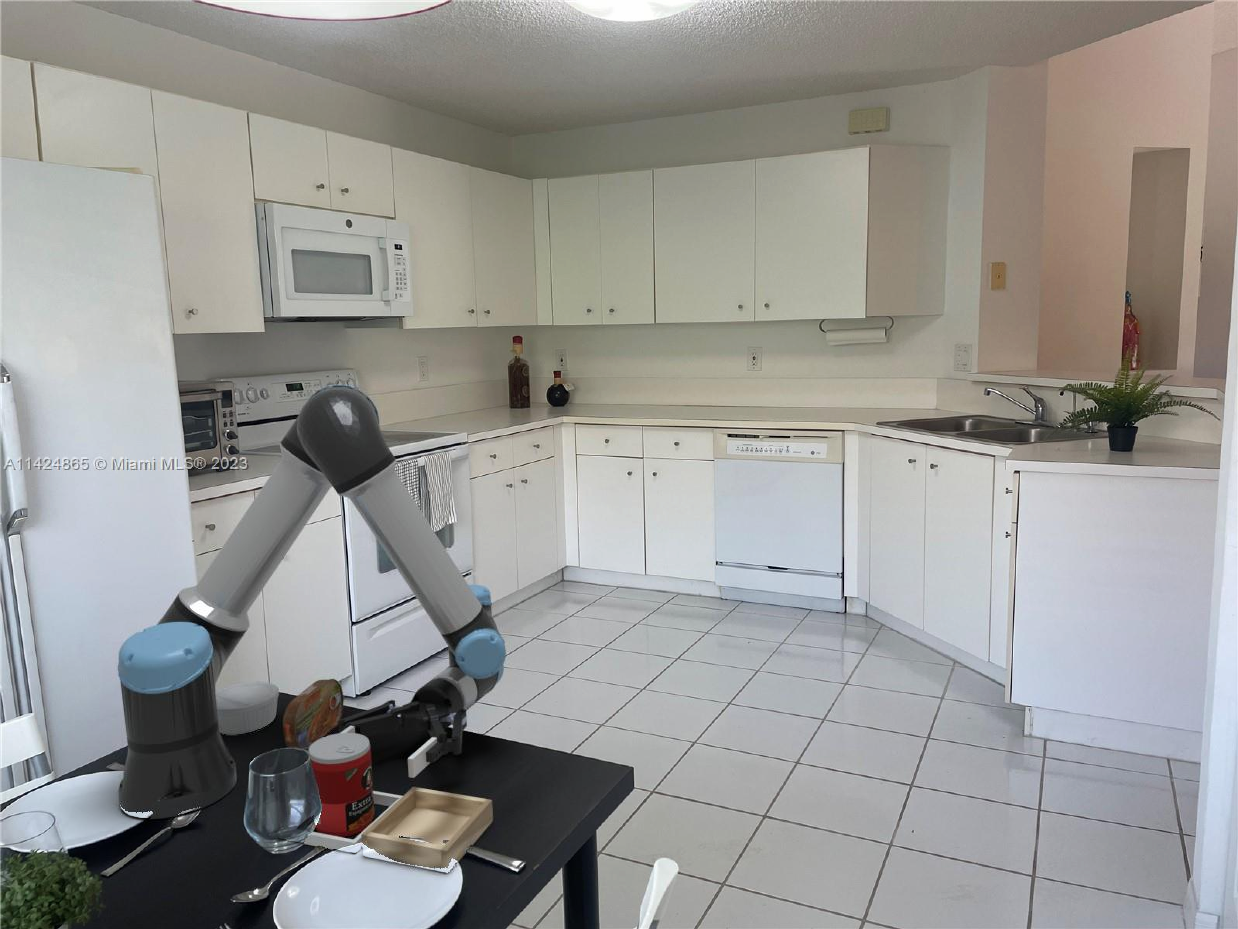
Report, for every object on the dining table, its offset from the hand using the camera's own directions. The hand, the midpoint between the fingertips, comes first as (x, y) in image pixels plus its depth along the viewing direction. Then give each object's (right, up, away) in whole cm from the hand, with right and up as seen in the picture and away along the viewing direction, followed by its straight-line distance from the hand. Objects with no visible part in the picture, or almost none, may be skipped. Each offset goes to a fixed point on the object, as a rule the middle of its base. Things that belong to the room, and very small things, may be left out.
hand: (367, 761), depth 120 cm
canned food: (-2, -7, -3) cm, 8 cm away
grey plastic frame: (-2, -7, -3) cm, 8 cm away
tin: (-15, -4, +22) cm, 27 cm away
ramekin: (-29, -3, +28) cm, 40 cm away
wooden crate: (+10, -7, -7) cm, 15 cm away
